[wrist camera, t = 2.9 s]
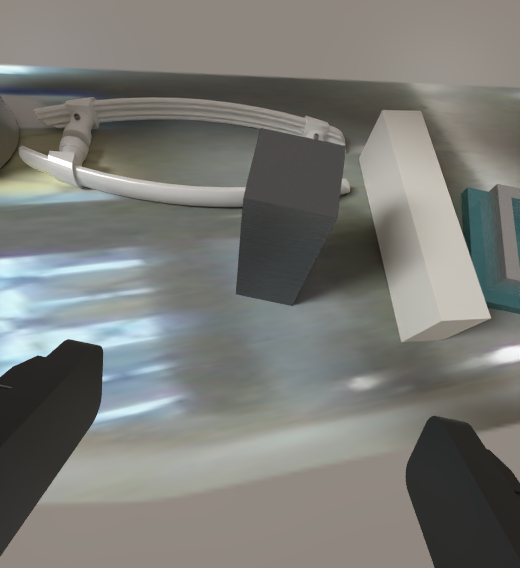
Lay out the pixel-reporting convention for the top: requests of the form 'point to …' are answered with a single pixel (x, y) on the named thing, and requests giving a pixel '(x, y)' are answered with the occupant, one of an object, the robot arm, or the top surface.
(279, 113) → the door handle
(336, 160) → the block
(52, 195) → the top surface
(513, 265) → the keeper
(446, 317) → the door edge
